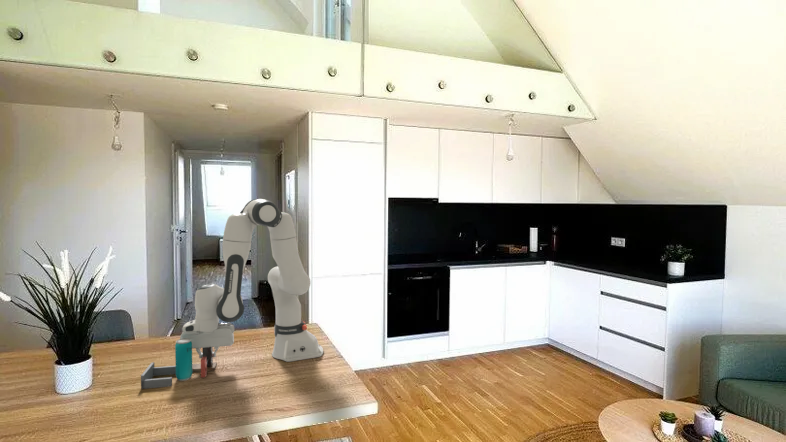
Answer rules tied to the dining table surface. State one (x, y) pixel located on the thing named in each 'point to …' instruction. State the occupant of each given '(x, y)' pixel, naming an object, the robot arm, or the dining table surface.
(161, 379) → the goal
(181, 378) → the beverage can
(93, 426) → the dining table surface
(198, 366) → the brown long flat block
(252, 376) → the dining table surface
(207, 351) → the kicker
